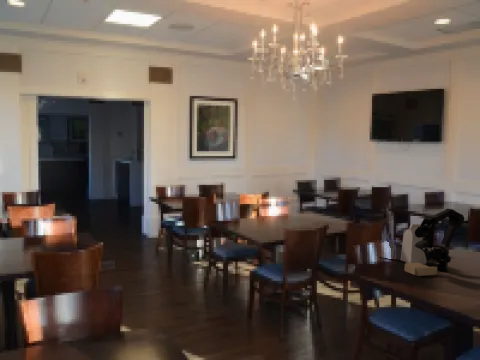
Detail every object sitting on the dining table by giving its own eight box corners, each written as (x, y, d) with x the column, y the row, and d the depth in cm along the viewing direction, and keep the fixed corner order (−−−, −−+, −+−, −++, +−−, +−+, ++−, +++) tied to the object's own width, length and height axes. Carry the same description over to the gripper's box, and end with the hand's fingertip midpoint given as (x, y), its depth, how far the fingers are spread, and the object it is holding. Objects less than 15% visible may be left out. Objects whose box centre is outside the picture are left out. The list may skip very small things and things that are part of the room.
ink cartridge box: (395, 258, 321) (397, 238, 320) (393, 260, 317) (394, 239, 316) (381, 256, 327) (382, 236, 326) (379, 257, 322) (380, 237, 321)
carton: (417, 270, 292) (418, 262, 292) (428, 274, 283) (429, 266, 283) (404, 271, 289) (404, 263, 289) (414, 275, 280) (415, 267, 279)
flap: (435, 274, 284) (436, 266, 284) (436, 274, 283) (437, 267, 283) (416, 275, 280) (416, 267, 279) (417, 276, 279) (417, 268, 278)
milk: (410, 264, 307) (412, 225, 305) (400, 260, 318) (402, 222, 316) (426, 263, 310) (428, 225, 308) (415, 259, 321) (418, 222, 319)
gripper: (408, 233, 293) (407, 258, 294) (429, 240, 275) (427, 265, 276) (423, 233, 296) (421, 257, 297) (444, 239, 278) (442, 264, 280)
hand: (427, 261), depth 288 cm, fingers closed
